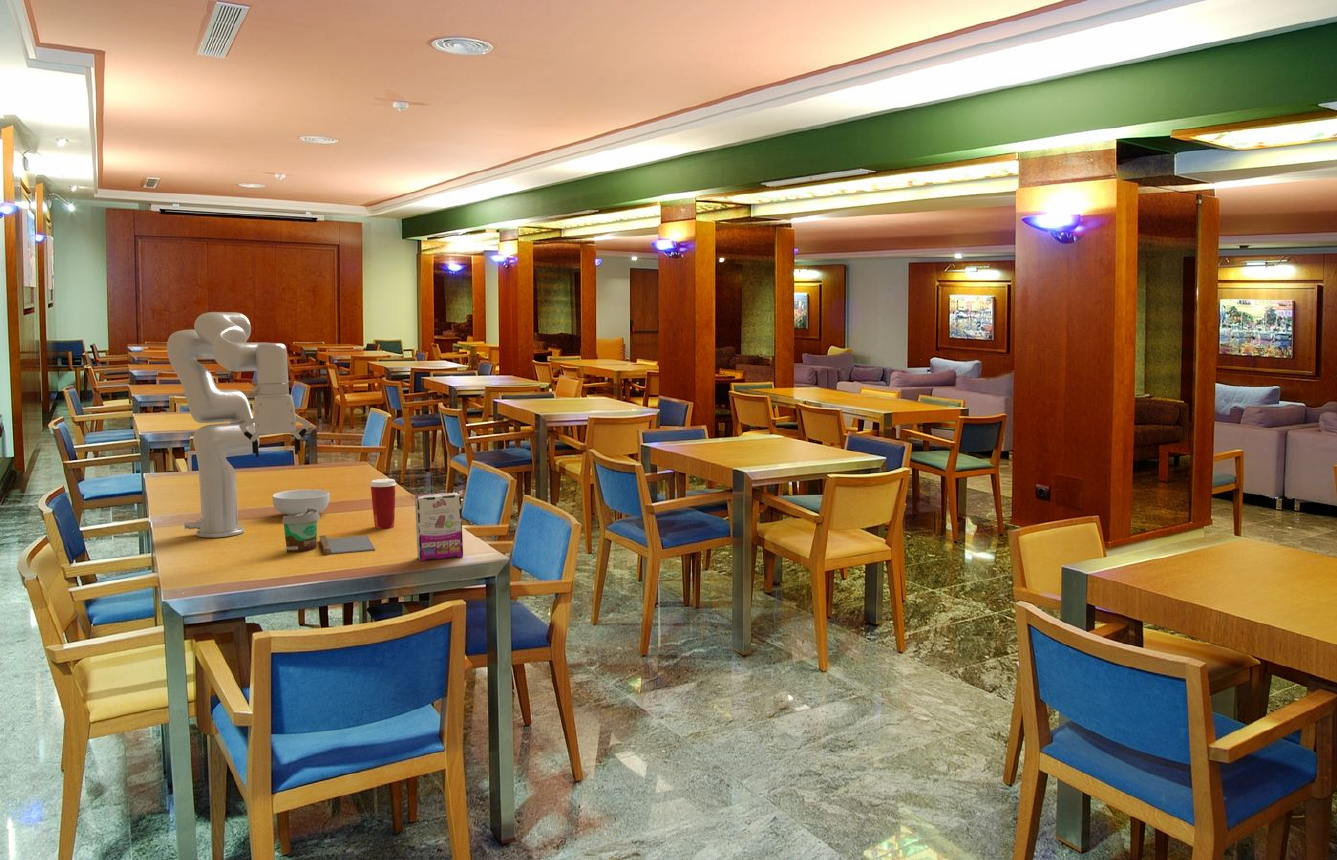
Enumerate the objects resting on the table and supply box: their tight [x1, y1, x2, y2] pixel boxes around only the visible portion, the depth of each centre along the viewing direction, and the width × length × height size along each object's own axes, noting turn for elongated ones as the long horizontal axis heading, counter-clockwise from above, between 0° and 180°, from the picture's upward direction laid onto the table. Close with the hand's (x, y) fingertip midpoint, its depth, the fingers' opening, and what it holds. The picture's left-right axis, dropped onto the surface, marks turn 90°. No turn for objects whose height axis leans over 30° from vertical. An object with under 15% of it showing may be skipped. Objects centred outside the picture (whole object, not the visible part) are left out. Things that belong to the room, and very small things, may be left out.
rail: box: [319, 534, 331, 556], centre depth 263 cm, size 2×18×2 cm, turn 23°
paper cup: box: [369, 478, 397, 530], centre depth 290 cm, size 8×8×14 cm
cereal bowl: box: [271, 489, 331, 516], centre depth 308 cm, size 17×17×7 cm
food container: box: [281, 508, 321, 554], centre depth 261 cm, size 12×6×10 cm, turn 168°
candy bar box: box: [414, 492, 464, 562], centre depth 251 cm, size 11×5×16 cm, turn 114°
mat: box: [327, 535, 376, 555], centre depth 266 cm, size 11×18×1 cm, turn 23°
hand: (276, 455), depth 257 cm, fingers open, 9 cm apart
